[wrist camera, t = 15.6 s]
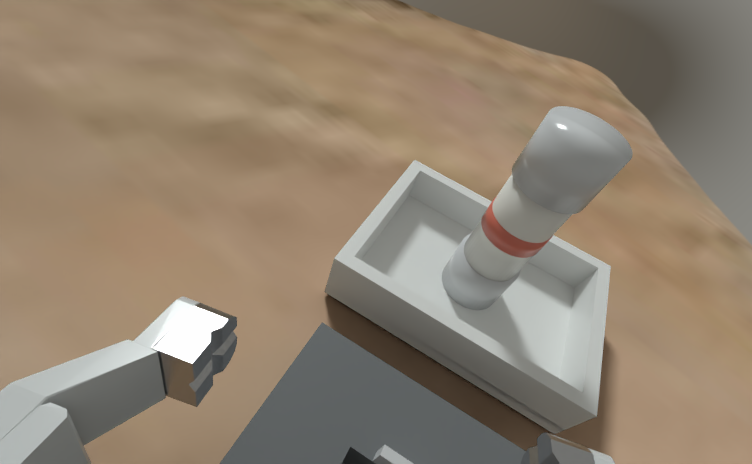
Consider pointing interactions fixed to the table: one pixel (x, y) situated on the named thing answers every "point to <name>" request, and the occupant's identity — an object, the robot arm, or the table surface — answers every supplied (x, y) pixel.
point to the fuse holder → (361, 416)
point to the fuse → (535, 203)
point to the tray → (479, 327)
